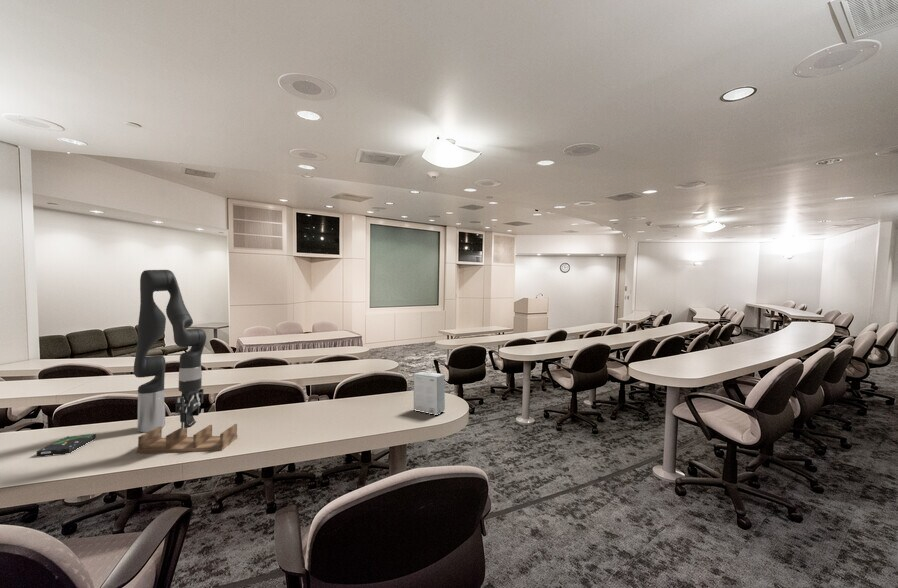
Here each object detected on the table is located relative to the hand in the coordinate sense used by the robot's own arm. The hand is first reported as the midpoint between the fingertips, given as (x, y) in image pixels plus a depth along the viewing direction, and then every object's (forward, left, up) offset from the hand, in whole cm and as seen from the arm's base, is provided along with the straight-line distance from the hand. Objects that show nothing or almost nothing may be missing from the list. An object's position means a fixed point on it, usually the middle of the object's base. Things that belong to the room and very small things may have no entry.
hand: (189, 418), depth 142 cm
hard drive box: (-33, +99, -11) cm, 105 cm away
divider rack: (0, 0, -11) cm, 11 cm away
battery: (0, 0, -3) cm, 3 cm away
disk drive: (-3, -48, -12) cm, 49 cm away
